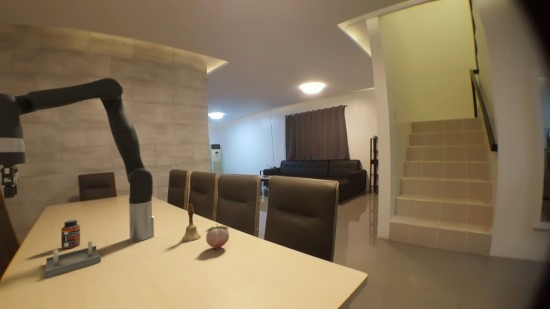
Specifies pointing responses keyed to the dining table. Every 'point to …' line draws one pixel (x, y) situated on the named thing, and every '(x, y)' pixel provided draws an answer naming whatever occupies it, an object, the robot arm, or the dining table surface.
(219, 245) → the decorative fruit
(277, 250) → the dining table surface
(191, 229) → the hand bell
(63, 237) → the supplement bottle
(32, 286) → the dining table surface
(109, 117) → the robot arm
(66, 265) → the pin tray
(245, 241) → the dining table surface
